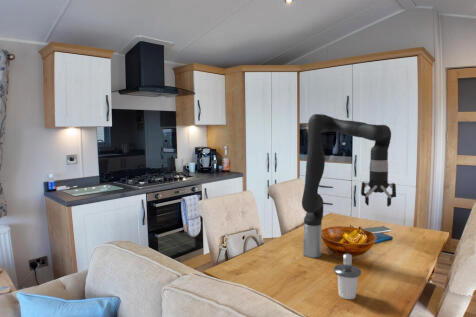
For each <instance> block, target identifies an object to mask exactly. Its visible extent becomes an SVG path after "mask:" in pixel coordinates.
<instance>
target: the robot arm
mask: <svg viewBox="0 0 476 317" xmlns="http://www.w3.org/2000/svg"><path fill="white" fill-rule="evenodd" d="M307 132H308V133H307V135H308V136H307V154H306V156H307V157H306V166H305V177H304V187H303V188H304V189H303V193H302V194H303V195H302V198H301V206H302V209H303V210H304V212H306V213H305V216H304V218H303V238H302V239H303V240H302V243H303V244H302V247H303V249H302V254H303V255H302V256H303V257H308V258H312V259H313V258H315V259H316V258H320V257H322V223H323V222H322V220H323V218H324V199H323V197H322V195H320V194H319V193H318V192H319V186H320V184H321V180H322V177H323V176H324V172H325V171H324V170H325V166H326V164H325V163H326V157H325V152H324V150H323V146H322V141H321V140H322V133H328V132H329V133H330V132H332V133H333V132H335V133H341V134H344V135H346V136H351V137H356V138H362V139H365V140H368V141H373V142H374V145H373V146H372V147H371V149H370V159H369V161H370V162H369V167H368V169H369V181H368V182H364V181H362V182H361V190H360V195H361V196H362V197H364V203H365V205H366V206H370V205H369V203H370V201H369V200H370V198H369V196H370V195H371V194H372V193H380V194H382V193H384V194H385V195H386V196H387V198H386V206H387V207H390V206H392V199H393V198H396V197H397V185H396V183H395V182H389V180H388V179H389V163H388V162H389V161H388V159H389V157H388V156H389V147H390V143H391V140H392V131H391V128H390V127H389V126H388V125H387V124H371V123H366V122H363V121H355V120H344V119H338V118H336V117H333V116H329V115H327V114H323V113H320V114H318V113H315V114H312V115H311V116H310V117H309V120H308V123H307ZM367 186H368V187H369V189H368V191H367V192H365V188H367ZM389 187H390V189H391V194H390V193H389V191H388V190H387V189H388V188H389Z"/></svg>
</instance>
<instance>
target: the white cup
mask: <svg viewBox="0 0 476 317" xmlns="http://www.w3.org/2000/svg"><path fill="white" fill-rule="evenodd" d="M358 279H359V277H355V278H347V277H342V276H339V275H337V288H338V296H339V297H341V298H342V299H344V300H354V299H356V297H357V288H358Z"/></svg>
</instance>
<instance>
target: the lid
mask: <svg viewBox="0 0 476 317" xmlns="http://www.w3.org/2000/svg"><path fill="white" fill-rule="evenodd" d="M342 256H343V257H342V258H343V259H342V261H343V262H342V263H341V264H338V265H337V264H336V265H335V266H334V267H333V272H334V273H335V274H336V275H337V276H338V275H339V276H342V277H347V278H355V277H358V278H359V277H360V276H361V275H362V270H361V269H360V268H359V267H357V266H355V265H352V260H353V257H352V256H353V255H352V254H351V253H343V254H342Z"/></svg>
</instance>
